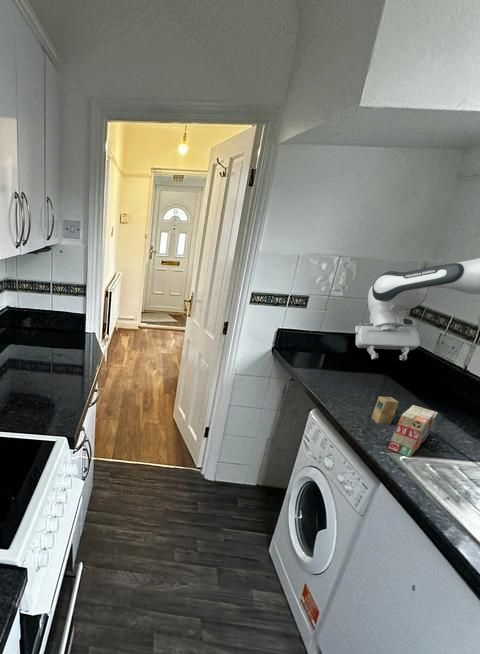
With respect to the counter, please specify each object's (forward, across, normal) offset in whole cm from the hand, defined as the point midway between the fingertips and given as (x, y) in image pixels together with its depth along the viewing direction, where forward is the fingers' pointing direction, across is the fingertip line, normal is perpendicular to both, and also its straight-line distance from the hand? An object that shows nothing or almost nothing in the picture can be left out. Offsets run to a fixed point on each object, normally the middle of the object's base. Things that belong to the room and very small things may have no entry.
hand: (389, 359), depth 147 cm
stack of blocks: (+31, 0, -4) cm, 32 cm away
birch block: (+21, -1, +7) cm, 23 cm away
